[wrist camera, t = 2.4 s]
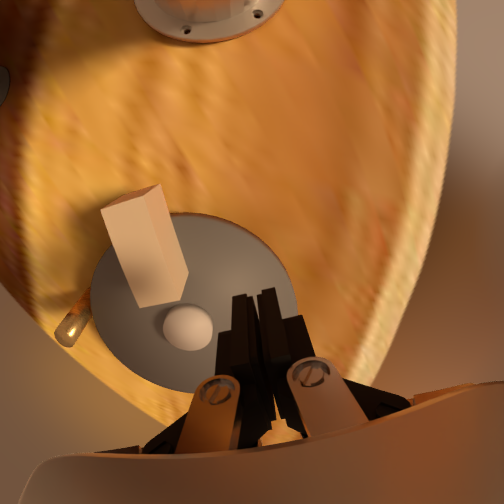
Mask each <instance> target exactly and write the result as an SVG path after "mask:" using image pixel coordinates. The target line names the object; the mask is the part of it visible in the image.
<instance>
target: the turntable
mask: <svg viewBox="0 0 504 504" xmlns="http://www.w3.org/2000/svg"><path fill="white" fill-rule="evenodd" d="M101 213H102V216H103V219H104V222H105V225H106V228H107V230H108V233H109V236H110V239H111V241H112V245H111V246H110V247H109V248H108V250H107V251H106V252H105V253H104V255H103V256H102V258H101V259H100V261H99V263H98V265H97V267H96V269H95V272H94V275H93V279H92V283H91V291H90V302H91V310H92V315H93V319H94V322H95V325H96V328H97V330H98V332H99V334H100V336H101V338H102V339H103V341H104V342H105V344H106V345H107V347H108V348H109V349H110V351H111V352H112V353H113V354H114V356H115V357H116V358H117V359H118V360H119V361H120V362H122V363H123V364H124V365H125V366H126V367H127V368H129V369H130V370H131V371H133V372H134V373H136V374H137V375H139V376H140V377H142V378H144V379H146V380H148V381H150V382H152V383H154V384H157V385H159V386H162V387H165V388H168V389H171V390H175V391H180V392H185V393H195V390H196V389H197V387H198V386H199V385H200V384H201V383H202V382H203V381H204V380H206V379H208V378H210V377H213V376H214V375H215V363H216V352H217V341H218V333H219V332H223V331H228V330H231V316H232V296H236V295H241V294H245V293H246V294H247V296H248V297H249V296H253V299H254V303H255V306H256V310H257V314H258V318H259V313H258V303H257V295H258V294H262V292H261V290H263V289H268V288H272V287H275V289H276V294H277V298H278V302H279V307H280V311H281V316H282V319H285V318H289V317H293V316H298V311H297V301H296V297H295V294H294V290H293V287H292V284H291V281H290V278H289V276H288V274H287V271H286V269H285V267H284V266H283V264H282V263H281V261H280V260H279V258H278V257H277V255H276V254H275V253H274V252H273V251H272V250H271V248H270V247H269V246H268V245H267V244H265V243H264V242H263V241H262V240H261V239H260V238H259V237H257V236H256V235H254V234H253V233H251V232H250V231H248V230H247V229H245V228H243V227H241V226H239V225H237V224H235V223H233V222H231V221H228V220H225V219H222V218H219V217H216V216H211V215H206V214H201V213H187V212H185V213H170V214H169V211H168V207H167V204H166V201H165V198H164V194H163V191H162V188H161V184H157V185H154V186H150V187H147V188H144V189H141V190H138V191H135V192H131V193H128V194H125V195H123V196H121V197H119V198H118V199H116V200H115V201H113V202H111V203H110V204H108V205H107V206H105V207H104V208H102V209H101Z"/></svg>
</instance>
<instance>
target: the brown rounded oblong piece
mask: <svg viewBox="0 0 504 504" xmlns="http://www.w3.org/2000/svg"><path fill="white" fill-rule="evenodd" d="M90 291H91V288H88V289H87V290H86V291H85V292H84V294H83V295H82V296H81V297H80V299H79V300H78V301H77V302H76V304H75V305H74V306H73V308H72V309H71V310H70V311H69V313H68V314H67V315H66V317H65V318H64V319H63V321H62V322H61V323H60V325H59V326H58V327H57V329H56V330H55V332H54V334H55V338H56V339H57V341H58V342H59V343H60V344H61V345H63V346H65V347H72V346H73V345H74V344H75V342H76V341H77V339H78V337H79V336H80V334H81V333H82V331H83V330H84V328H85V327H86V325H87V323H88V322H89V320H90V319H91V317H92V316H93V315H92V310H91V302H90Z"/></svg>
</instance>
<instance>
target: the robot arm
mask: <svg viewBox="0 0 504 504" xmlns="http://www.w3.org/2000/svg"><path fill="white" fill-rule="evenodd" d="M283 2H284V0H134V3H135V6H136V8H137V11H138V13H139V14H140V15H141V17H142V18H143V19H144V21H145V22H146V23H147V24H148V25H149V26H150V27H151V28H153V29H154V30H156V31H158V32H159V33H161V34H162V35H165V36H168V37H170V38H173V39H176V40H181V41H185V42H195V43H209V42H220V41H224V40H229V39H234V38H236V37H239V36H242V35H244V34H247V33H249V32H251V31H253V30H255V29H257V28H259V27H260V26H262V25H263V24H264V23H266V22H267V21H268V20H269V19H271V18H272V17H273V16H274V15H275V13H276V12H277V11H278V10H279V9H280V7H281V5H282V4H283ZM254 16H260V18H259V19H258V18H254ZM186 31H191V32H190V33H189V34H186V35H185V32H186ZM261 292H262V294H258V295H257V303H258V313H259V318H258V314H257V310H256V306H255V303H254V299H253V296H249V297H248V296H247V294H246V293H245V294H241V295H236V296H232V316H231V330H228V331H223V332H219V333H218V341H217V352H216V363H215V375H214V376H213V377H210V378H208V379H206V380H204V381H203V382H202V383H201V384H200V385H199V386H198V387H197V389H196V390H195V393H194V396H193V399H192V402H191V405H190V408H189V411H188V412H187V413H186V414H184V415H183V416H182V417H181V418H179V419H178V420H177V421H175V422H174V423H173V424H171V425H170V426H169V427H167V428H166V429H165V430H164V431H162V432H161V433H160V434H158V435H157V436H155V437H154V438H153V439H151V440H150V441H149V442H148V443H147V444H146V445H145V446H144V448H141V447H140V446H139V445H138V446H132V447H127V448H121V449H115V450H108V451H101V452H94V453H74V454H66V455H60V456H56V457H52V458H50V459H47V460H45V461H43V462H41V463H40V464H39V465H38V466H37V467H36V468H35V470H34V471H33V473H32V474H31V476H30V477H29V479H28V481H27V483H26V485H25V487H24V490H23V492H22V494H21V497H20V500H19V502H18V504H504V381H492V382H484V383H479V384H473V383H466V384H462V385H457V386H454V387H450V388H445V389H441V390H436V391H432V392H427V393H422V394H417V395H414V397H413V399H407V400H406V399H405V398H403V397H401V396H399V395H396V394H392V393H388V392H385V391H381V390H378V389H375V388H372V387H369V386H365V385H362V384H359V383H356V382H353V381H350V380H347V379H344V378H342V377H341V376H340V374H339V373H338V371H337V369H336V368H335V366H334V365H333V364H332V363H331V362H330V361H329V360H327V359H325V358H321V357H316V356H315V353H314V350H313V346H312V343H311V340H310V337H309V334H308V331H307V328H306V325H305V322H304V319H303V316H302V315H298V316H293V317H289V318H285V319H282V316H281V311H280V307H279V302H278V298H277V294H276V289H275V287H272V288H268V289H263V290H261ZM273 394H274V396H273ZM274 398H275V401H276V404H277V408H278V411H279V414H280V418H281V419H286V423H287V426H288V427H290V428H292V429H294V430H296V431H298V432H300V436H301V439H300V440H295V441H290V442H285V443H279V444H273V445H267V446H262V438H261V437H262V436H263V435H264V434H265V433H266V432H267V431H268V430H272V426H271V421H274V420H276V412H275V404H274Z"/></svg>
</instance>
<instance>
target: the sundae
mask: <svg viewBox="0 0 504 504" xmlns="http://www.w3.org/2000/svg"><path fill="white" fill-rule="evenodd" d="M9 82H10V79H9V73H8V71H7V69H6V68H5V67H2V66H0V106H1V104H2V103H3V101H4V100H5V98H6V95H7V92H8V89H9Z"/></svg>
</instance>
